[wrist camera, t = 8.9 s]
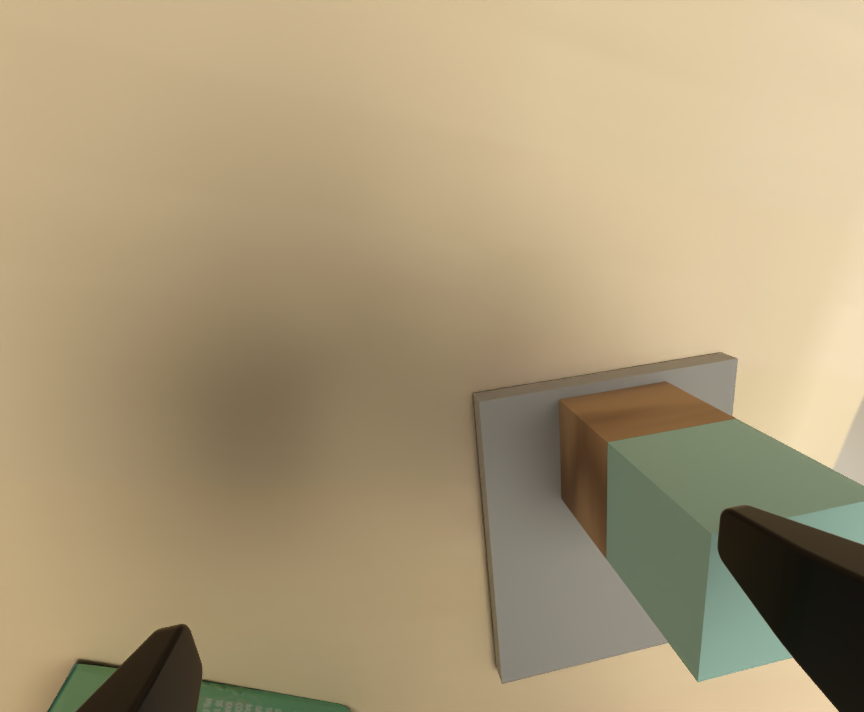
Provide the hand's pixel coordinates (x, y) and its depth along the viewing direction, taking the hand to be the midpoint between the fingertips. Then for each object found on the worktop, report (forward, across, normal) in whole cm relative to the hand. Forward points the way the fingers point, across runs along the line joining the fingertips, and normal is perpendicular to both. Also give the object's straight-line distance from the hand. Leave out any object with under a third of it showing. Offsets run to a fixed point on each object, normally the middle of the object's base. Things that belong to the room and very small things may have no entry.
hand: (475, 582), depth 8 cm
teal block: (+8, -9, +5) cm, 13 cm away
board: (+12, -9, +10) cm, 18 cm away
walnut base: (+12, -9, +5) cm, 15 cm away
